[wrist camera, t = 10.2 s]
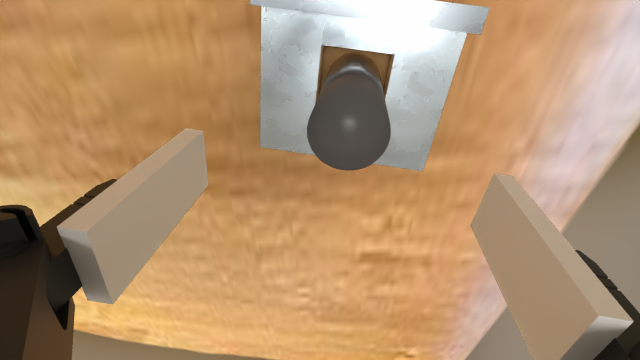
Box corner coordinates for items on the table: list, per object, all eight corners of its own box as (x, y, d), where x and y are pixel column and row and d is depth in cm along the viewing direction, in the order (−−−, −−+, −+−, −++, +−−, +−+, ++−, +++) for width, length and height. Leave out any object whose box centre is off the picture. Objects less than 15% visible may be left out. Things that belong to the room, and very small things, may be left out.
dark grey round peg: (325, 102, 31) (303, 164, 19) (331, 49, 28) (310, 85, 17) (374, 109, 30) (381, 175, 19) (384, 56, 28) (399, 98, 17)
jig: (266, 136, 33) (250, 160, 28) (269, -20, 26) (249, -23, 21) (418, 159, 32) (428, 187, 28) (466, 4, 25) (489, 7, 20)
